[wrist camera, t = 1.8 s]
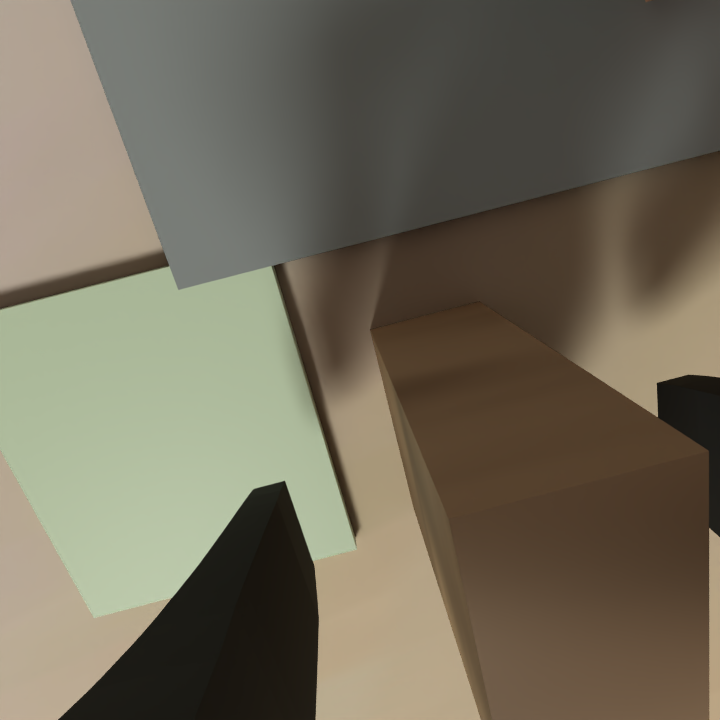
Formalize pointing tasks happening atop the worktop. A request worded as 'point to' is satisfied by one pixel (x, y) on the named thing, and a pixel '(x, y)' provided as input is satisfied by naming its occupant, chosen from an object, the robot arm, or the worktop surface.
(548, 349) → the walnut block
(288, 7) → the mat
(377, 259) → the worktop surface
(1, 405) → the rest pad
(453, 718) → the worktop surface
